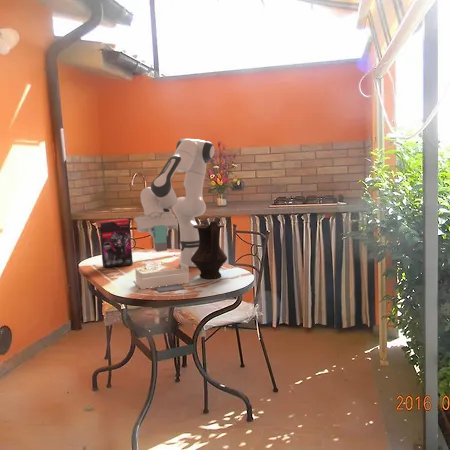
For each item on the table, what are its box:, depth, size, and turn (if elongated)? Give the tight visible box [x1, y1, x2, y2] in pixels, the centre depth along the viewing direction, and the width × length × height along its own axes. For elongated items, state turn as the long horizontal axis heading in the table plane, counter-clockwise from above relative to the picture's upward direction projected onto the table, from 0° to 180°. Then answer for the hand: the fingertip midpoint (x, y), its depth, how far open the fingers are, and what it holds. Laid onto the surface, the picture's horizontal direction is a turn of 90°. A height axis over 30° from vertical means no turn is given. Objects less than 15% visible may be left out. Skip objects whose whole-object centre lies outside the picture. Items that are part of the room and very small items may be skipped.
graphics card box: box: [98, 218, 134, 269], centre depth 295 cm, size 17×7×27 cm, turn 116°
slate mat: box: [153, 284, 185, 293], centre depth 238 cm, size 12×9×1 cm
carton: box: [133, 262, 190, 290], centre depth 251 cm, size 24×18×8 cm
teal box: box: [152, 225, 168, 252], centre depth 246 cm, size 5×5×12 cm
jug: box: [191, 220, 228, 280], centre depth 255 cm, size 21×18×30 cm
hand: (160, 236), depth 245 cm, fingers closed on teal box, 5 cm apart
